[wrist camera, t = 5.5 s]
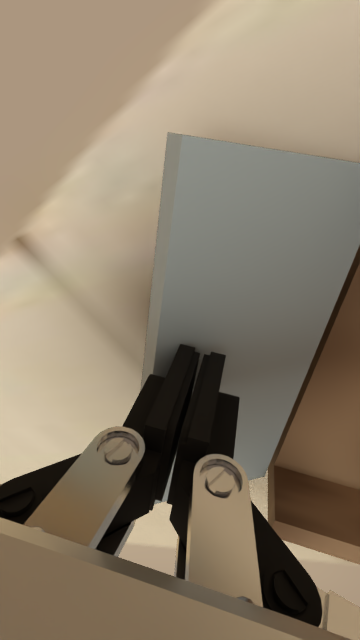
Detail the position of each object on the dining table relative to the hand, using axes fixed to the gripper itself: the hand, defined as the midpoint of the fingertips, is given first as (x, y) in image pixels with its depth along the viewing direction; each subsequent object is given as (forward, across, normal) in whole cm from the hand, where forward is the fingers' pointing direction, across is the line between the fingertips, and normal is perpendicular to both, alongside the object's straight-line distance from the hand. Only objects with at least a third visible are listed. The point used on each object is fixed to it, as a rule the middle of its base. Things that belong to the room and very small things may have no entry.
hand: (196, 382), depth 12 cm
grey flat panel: (+3, -4, 0) cm, 5 cm away
